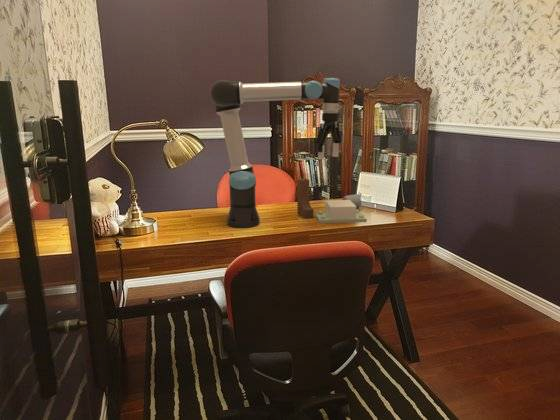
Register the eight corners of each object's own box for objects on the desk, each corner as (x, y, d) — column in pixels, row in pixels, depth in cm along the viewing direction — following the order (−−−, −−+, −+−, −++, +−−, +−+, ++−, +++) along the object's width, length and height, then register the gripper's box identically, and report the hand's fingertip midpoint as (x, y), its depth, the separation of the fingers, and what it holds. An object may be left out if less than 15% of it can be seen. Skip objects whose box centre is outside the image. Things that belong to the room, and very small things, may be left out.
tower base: (319, 223, 205) (319, 207, 203) (315, 215, 219) (315, 200, 217) (366, 221, 207) (367, 206, 205) (359, 214, 220) (359, 199, 218)
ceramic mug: (340, 208, 233) (341, 193, 231) (355, 206, 235) (355, 192, 233) (349, 213, 223) (349, 198, 221) (364, 211, 226) (364, 197, 224)
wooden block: (313, 218, 214) (313, 181, 210) (305, 219, 213) (305, 181, 208) (305, 213, 222) (305, 178, 218) (297, 214, 221) (297, 178, 216)
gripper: (323, 113, 196) (321, 161, 201) (350, 112, 216) (347, 156, 221) (309, 112, 200) (307, 159, 206) (336, 112, 220) (334, 154, 225)
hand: (328, 157), depth 213 cm, fingers open, 13 cm apart
